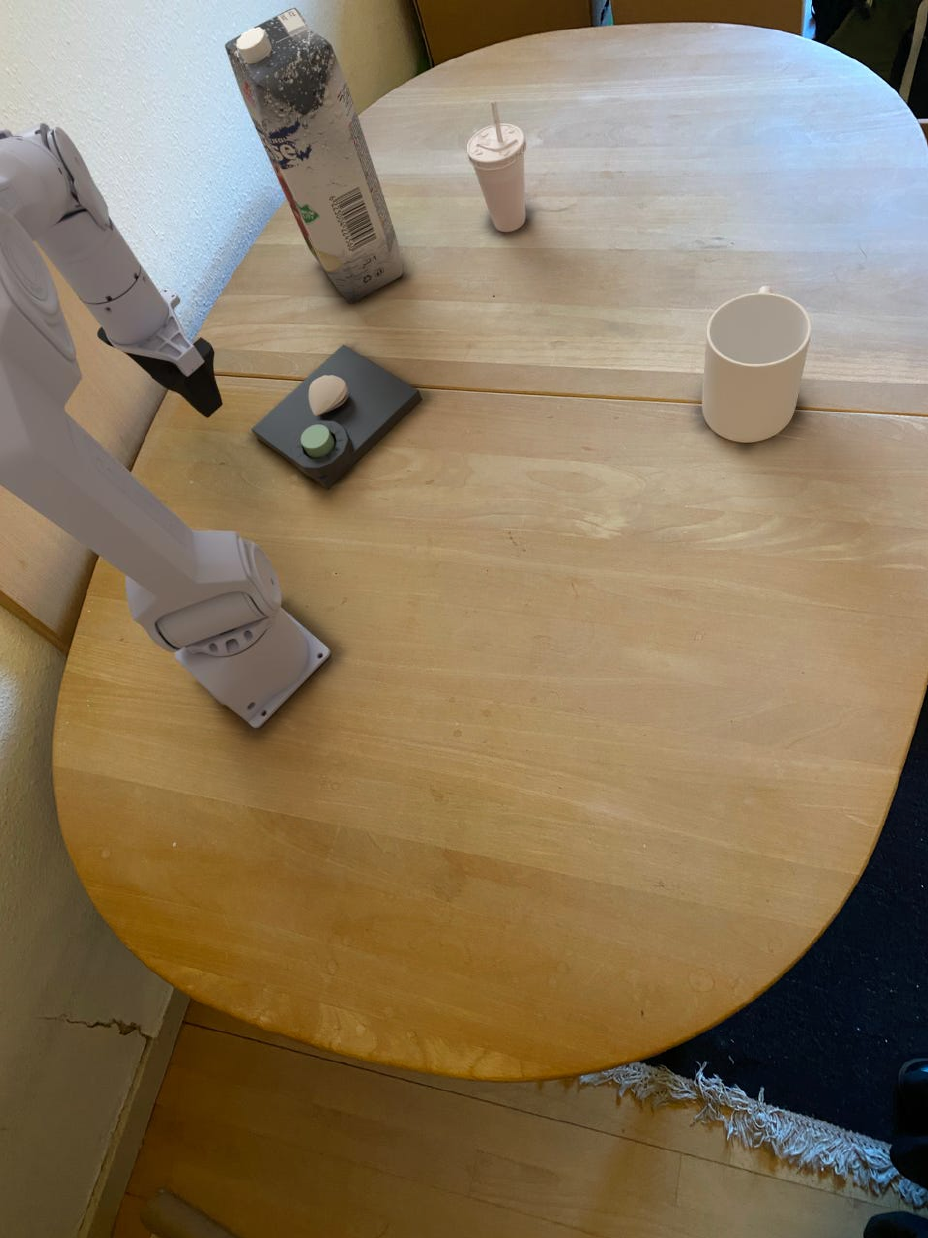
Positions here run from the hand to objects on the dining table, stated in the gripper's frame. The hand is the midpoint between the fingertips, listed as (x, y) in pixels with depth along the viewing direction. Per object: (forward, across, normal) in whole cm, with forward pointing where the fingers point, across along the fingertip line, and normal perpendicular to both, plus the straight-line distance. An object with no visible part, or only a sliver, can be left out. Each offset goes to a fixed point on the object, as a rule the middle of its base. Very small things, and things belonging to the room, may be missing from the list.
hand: (190, 392), depth 80 cm
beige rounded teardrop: (+9, -5, -10) cm, 14 cm away
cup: (+10, -39, -35) cm, 53 cm away
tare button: (+7, -10, -6) cm, 13 cm away
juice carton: (+10, +8, -27) cm, 30 cm away
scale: (+10, -6, -10) cm, 15 cm away
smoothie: (+10, -2, -42) cm, 43 cm away
